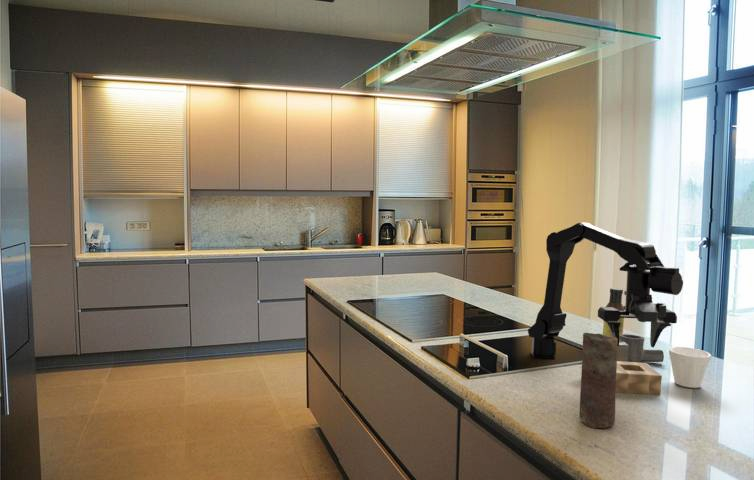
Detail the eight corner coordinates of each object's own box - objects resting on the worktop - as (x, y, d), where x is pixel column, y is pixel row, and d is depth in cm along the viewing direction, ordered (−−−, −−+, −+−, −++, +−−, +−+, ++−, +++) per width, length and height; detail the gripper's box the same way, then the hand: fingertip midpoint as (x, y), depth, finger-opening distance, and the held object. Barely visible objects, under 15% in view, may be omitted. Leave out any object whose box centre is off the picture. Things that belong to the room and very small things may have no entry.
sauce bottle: (612, 349, 181) (615, 290, 180) (597, 344, 187) (601, 287, 185) (626, 347, 184) (630, 289, 182) (611, 343, 189) (615, 286, 188)
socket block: (615, 391, 141) (616, 372, 140) (603, 377, 152) (604, 360, 151) (660, 394, 140) (661, 375, 139) (644, 380, 150) (646, 362, 150)
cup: (703, 381, 151) (706, 349, 150) (713, 393, 141) (715, 359, 141) (663, 377, 154) (666, 345, 153) (670, 388, 145) (672, 354, 144)
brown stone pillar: (572, 415, 124) (577, 330, 123) (603, 415, 125) (608, 330, 123) (588, 430, 117) (593, 339, 115) (621, 429, 117) (626, 339, 116)
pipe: (665, 366, 164) (666, 340, 163) (619, 363, 166) (621, 337, 166) (658, 360, 170) (660, 335, 169) (615, 357, 172) (616, 332, 172)
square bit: (613, 371, 158) (615, 344, 157) (610, 367, 161) (611, 341, 161) (626, 372, 157) (628, 345, 157) (622, 368, 161) (624, 342, 160)
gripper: (613, 293, 138) (610, 353, 139) (689, 295, 136) (685, 356, 138) (598, 286, 149) (595, 342, 150) (668, 288, 147) (665, 344, 149)
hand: (634, 346), depth 146 cm, fingers open, 9 cm apart
